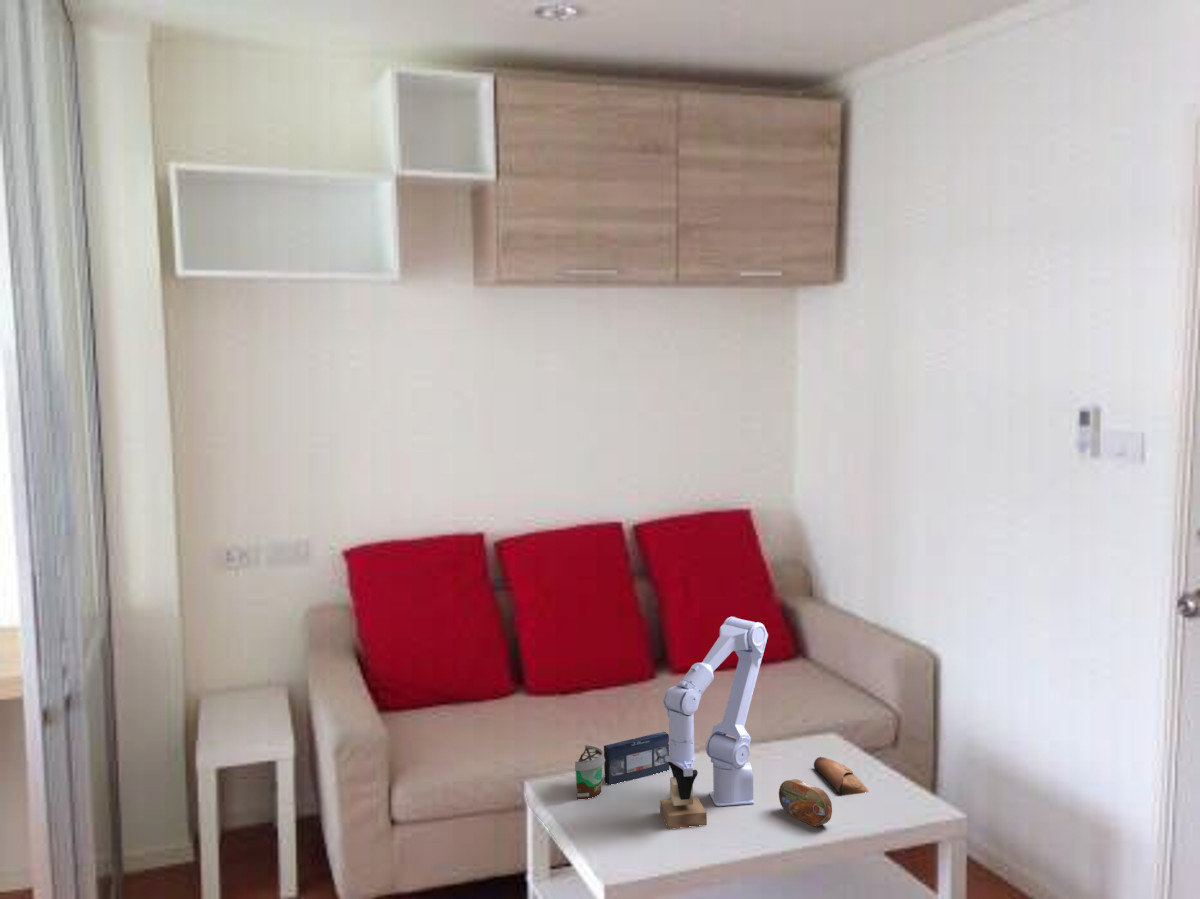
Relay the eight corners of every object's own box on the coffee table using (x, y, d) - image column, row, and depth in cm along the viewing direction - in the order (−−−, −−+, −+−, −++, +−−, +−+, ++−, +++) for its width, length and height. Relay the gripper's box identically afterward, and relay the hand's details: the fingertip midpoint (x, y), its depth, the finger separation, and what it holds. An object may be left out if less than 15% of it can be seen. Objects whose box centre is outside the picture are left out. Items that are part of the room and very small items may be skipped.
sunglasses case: (872, 792, 272) (859, 771, 271) (849, 809, 271) (835, 787, 270) (843, 765, 290) (831, 745, 288) (821, 780, 289) (809, 760, 288)
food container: (600, 803, 270) (599, 763, 269) (575, 802, 271) (574, 762, 270) (610, 783, 282) (609, 745, 281) (586, 782, 283) (585, 744, 282)
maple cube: (689, 796, 262) (688, 776, 261) (693, 804, 257) (692, 783, 257) (670, 798, 261) (670, 777, 261) (674, 805, 257) (673, 785, 256)
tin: (777, 810, 263) (777, 776, 263) (787, 806, 265) (787, 772, 264) (824, 832, 251) (824, 796, 250) (834, 828, 253) (834, 792, 252)
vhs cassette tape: (608, 786, 280) (607, 748, 279) (603, 782, 283) (602, 744, 282) (670, 771, 289) (670, 734, 288) (665, 767, 291) (664, 731, 290)
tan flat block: (697, 810, 265) (697, 796, 265) (706, 826, 256) (706, 812, 256) (660, 814, 264) (660, 800, 263) (668, 830, 255) (668, 815, 254)
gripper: (659, 728, 265) (660, 783, 266) (670, 750, 250) (671, 808, 252) (688, 726, 265) (689, 781, 267) (701, 748, 251) (702, 806, 252)
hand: (682, 794), depth 259 cm, fingers closed on maple cube, 4 cm apart
